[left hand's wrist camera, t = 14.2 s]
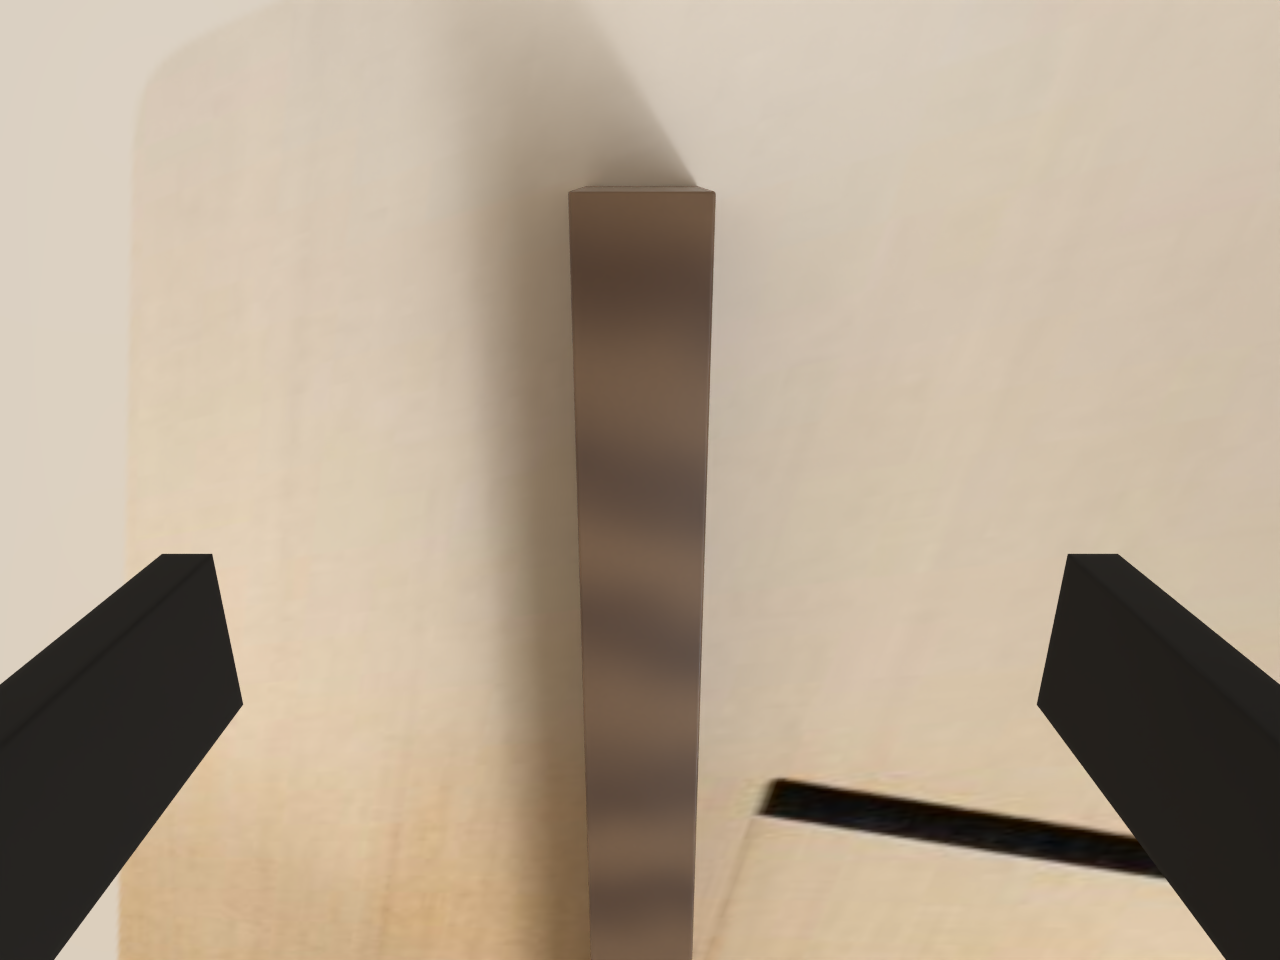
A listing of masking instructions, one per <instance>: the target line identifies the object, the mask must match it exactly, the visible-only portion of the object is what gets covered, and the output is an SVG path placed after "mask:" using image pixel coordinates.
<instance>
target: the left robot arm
mask: <svg viewBox="0 0 1280 960" xmlns="http://www.w3.org/2000/svg"><path fill="white" fill-rule="evenodd" d="M242 705H243V702H242V697H241V692H240V687H239V682H238V677H237V672H236V668H235V663H234V658H233V653H232V648H231V643H230V638H229V634H228V629H227V624H226V619H225V614H224V609H223V604H222V600H221V595H220V590H219V585H218V580H217V575H216V570H215V566H214V561H213V556H212V554H162V555H160V556H159V557H158V558H157V559H155V560H154V561H153V562H152V563H150V564H149V565H148V566H147V567H145V568H144V569H143V570H142V571H140V572H139V573H138V574H137V575H135V576H134V577H133V578H132V579H131V580H129V581H128V582H127V583H126V584H124V585H123V586H122V587H121V588H119V589H118V590H117V591H116V592H114V593H113V594H112V595H111V596H109V597H108V598H107V599H106V600H105V601H103V602H102V603H101V604H100V605H98V606H97V607H96V608H95V609H93V610H92V611H91V612H90V613H88V614H87V615H86V616H85V617H83V618H82V619H81V620H80V621H78V622H77V623H76V624H75V625H74V626H72V627H71V628H70V629H69V630H67V631H66V632H65V633H64V634H62V635H61V636H60V637H59V638H57V639H56V640H55V641H54V642H52V643H51V644H50V645H49V646H47V647H46V648H45V649H44V650H43V651H41V652H40V653H39V654H38V655H36V656H35V657H34V658H33V659H31V660H30V661H29V662H28V663H26V664H25V665H24V666H23V667H22V668H20V669H19V670H18V671H16V672H15V673H14V674H13V675H12V676H10V677H9V678H8V679H7V680H5V681H4V682H3V683H2V684H0V960H54V959H55V958H56V956H57V955H58V954H59V952H60V951H61V950H62V948H63V947H64V946H65V944H66V943H67V942H68V940H69V939H70V938H71V936H72V935H73V933H74V932H75V931H76V929H77V928H78V927H79V925H80V924H81V923H82V921H83V920H84V919H85V917H86V916H87V914H88V913H89V912H90V910H91V909H92V908H93V906H94V905H95V904H96V902H97V901H98V900H99V898H100V897H101V896H102V894H103V893H104V892H105V890H106V889H107V888H108V886H109V885H110V883H111V882H112V881H113V879H114V878H115V877H116V875H117V874H118V873H119V871H120V870H121V869H122V867H123V866H124V865H125V863H126V862H127V861H128V859H129V858H130V856H131V855H132V854H133V852H134V851H135V850H136V848H137V847H138V846H139V844H140V843H141V842H142V840H143V839H144V838H145V836H146V835H147V834H148V832H149V831H150V829H151V828H152V827H153V825H154V824H155V823H156V821H157V820H158V819H159V817H160V816H161V815H162V813H163V812H164V811H165V809H166V808H167V807H168V805H169V804H170V802H171V801H172V800H173V798H174V797H175V796H176V794H177V793H178V792H179V790H180V789H181V788H182V786H183V785H184V784H185V782H186V781H187V780H188V778H189V777H190V775H191V774H192V773H193V771H194V770H195V769H196V767H197V766H198V765H199V763H200V762H201V761H202V759H203V758H204V757H205V755H206V754H207V753H208V751H209V750H210V748H211V747H212V746H213V744H214V743H215V742H216V740H217V739H218V738H219V736H220V735H221V734H222V732H223V731H224V730H225V728H226V727H227V726H228V724H229V723H230V721H231V720H232V719H233V717H234V716H235V715H236V713H237V712H238V711H239V709H240V708H241V707H242ZM1037 705H1038V707H1039V708H1040V709H1041V711H1042V712H1043V713H1044V715H1045V716H1046V717H1047V719H1048V720H1049V721H1050V723H1051V724H1052V726H1053V727H1054V728H1055V730H1056V731H1057V732H1058V734H1059V735H1060V736H1061V738H1062V739H1063V740H1064V742H1065V743H1066V744H1067V746H1068V747H1069V748H1070V750H1071V751H1072V753H1073V754H1074V755H1075V757H1076V758H1077V759H1078V761H1079V762H1080V763H1081V765H1082V766H1083V767H1084V769H1085V770H1086V771H1087V773H1088V774H1089V775H1090V777H1091V778H1092V780H1093V781H1094V782H1095V784H1096V785H1097V786H1098V788H1099V789H1100V790H1101V792H1102V793H1103V794H1104V796H1105V797H1106V798H1107V800H1108V801H1109V802H1110V804H1111V805H1112V807H1113V808H1114V809H1115V811H1116V812H1117V813H1118V815H1119V816H1120V817H1121V819H1122V820H1123V821H1124V823H1125V824H1126V825H1127V827H1128V828H1129V829H1130V831H1131V832H1132V834H1133V835H1134V836H1135V838H1136V839H1137V840H1138V842H1139V843H1140V844H1141V846H1142V847H1143V848H1144V850H1145V851H1146V852H1147V854H1148V855H1149V856H1150V858H1151V859H1152V861H1153V862H1154V863H1155V865H1156V866H1157V867H1158V869H1159V870H1160V871H1161V873H1162V874H1163V875H1164V877H1165V878H1166V879H1167V881H1168V882H1169V884H1170V885H1171V886H1172V888H1173V889H1174V890H1175V892H1176V893H1177V894H1178V896H1179V897H1180V898H1181V900H1182V901H1183V902H1184V904H1185V905H1186V906H1187V908H1188V909H1189V911H1190V912H1191V913H1192V915H1193V916H1194V917H1195V919H1196V920H1197V921H1198V923H1199V924H1200V925H1201V927H1202V928H1203V929H1204V931H1205V932H1206V933H1207V935H1208V936H1209V938H1210V939H1211V940H1212V942H1213V943H1214V944H1215V946H1216V947H1217V948H1218V950H1219V951H1220V952H1221V954H1222V955H1223V956H1224V958H1225V959H1226V960H1280V684H1278V683H1277V682H1276V681H1275V680H1273V679H1272V678H1271V677H1270V676H1268V675H1267V674H1266V673H1265V672H1264V671H1262V670H1261V669H1260V668H1259V667H1257V666H1256V665H1255V664H1254V663H1252V662H1251V661H1250V660H1249V659H1247V658H1246V657H1245V656H1244V655H1242V654H1241V653H1240V652H1239V651H1237V650H1236V649H1235V648H1234V647H1233V646H1231V645H1230V644H1229V643H1228V642H1226V641H1225V640H1224V639H1223V638H1221V637H1220V636H1219V635H1218V634H1216V633H1215V632H1214V631H1213V630H1211V629H1210V628H1209V627H1208V626H1207V625H1205V624H1204V623H1203V622H1202V621H1200V620H1199V619H1198V618H1197V617H1195V616H1194V615H1193V614H1192V613H1190V612H1189V611H1188V610H1187V609H1185V608H1184V607H1183V606H1182V605H1180V604H1179V603H1178V602H1177V601H1176V600H1174V599H1173V598H1172V597H1171V596H1169V595H1168V594H1167V593H1166V592H1164V591H1163V590H1162V589H1161V588H1159V587H1158V586H1157V585H1156V584H1154V583H1153V582H1152V581H1151V580H1149V579H1148V578H1147V577H1146V576H1145V575H1143V574H1142V573H1141V572H1140V571H1138V570H1137V569H1136V568H1135V567H1133V566H1132V565H1131V564H1130V563H1128V562H1127V561H1126V560H1125V559H1123V558H1122V557H1121V556H1120V555H1118V554H1068V556H1067V561H1066V566H1065V570H1064V575H1063V580H1062V585H1061V590H1060V595H1059V600H1058V604H1057V609H1056V614H1055V619H1054V624H1053V629H1052V634H1051V638H1050V643H1049V648H1048V653H1047V658H1046V663H1045V668H1044V672H1043V677H1042V682H1041V687H1040V692H1039V697H1038V702H1037Z"/></svg>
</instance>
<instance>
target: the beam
mask: <svg viewBox="0 0 1280 960" xmlns="http://www.w3.org/2000/svg"><path fill="white" fill-rule="evenodd" d="M715 198H716V194H715V192H714V191H711V190H708V189H704V188H701V187H698V186H586V187H582V188H579V189H576V190H573V191H570V192H569V194H568V200H569V234H570V267H571V301H572V335H573V369H574V402H575V436H576V470H577V503H578V537H579V571H580V605H581V638H582V672H583V706H584V740H585V773H586V807H587V841H588V875H589V908H590V942H591V960H692V945H693V913H694V880H695V848H696V815H697V783H698V750H699V718H700V685H701V653H702V620H703V588H704V555H705V523H706V490H707V458H708V425H709V393H710V360H711V328H712V295H713V263H714V230H715Z"/></svg>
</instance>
